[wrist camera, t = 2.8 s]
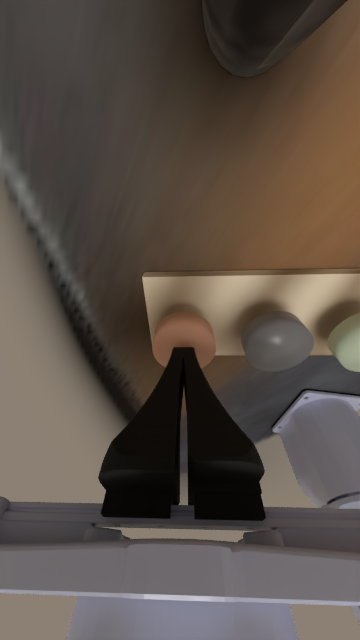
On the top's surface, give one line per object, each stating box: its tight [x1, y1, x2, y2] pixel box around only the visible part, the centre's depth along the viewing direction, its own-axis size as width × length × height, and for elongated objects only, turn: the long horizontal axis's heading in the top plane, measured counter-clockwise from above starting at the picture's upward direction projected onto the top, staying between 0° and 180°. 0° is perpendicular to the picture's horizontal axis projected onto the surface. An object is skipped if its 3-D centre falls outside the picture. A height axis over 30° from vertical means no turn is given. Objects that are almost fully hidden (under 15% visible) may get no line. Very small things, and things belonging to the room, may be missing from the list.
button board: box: [142, 268, 360, 355], centre depth 17 cm, size 19×8×1 cm, turn 91°
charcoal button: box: [241, 311, 314, 372], centre depth 14 cm, size 4×4×2 cm
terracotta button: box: [152, 312, 216, 368], centre depth 15 cm, size 4×4×2 cm
